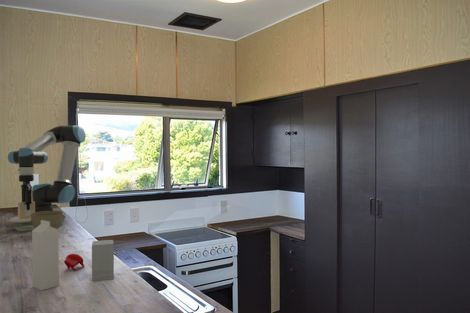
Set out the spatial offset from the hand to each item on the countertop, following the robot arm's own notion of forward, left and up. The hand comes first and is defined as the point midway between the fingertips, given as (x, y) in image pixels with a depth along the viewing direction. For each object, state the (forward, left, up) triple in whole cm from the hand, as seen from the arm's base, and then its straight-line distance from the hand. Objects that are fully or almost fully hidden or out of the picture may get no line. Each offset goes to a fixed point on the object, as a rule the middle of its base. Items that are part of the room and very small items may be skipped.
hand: (26, 214), depth 226 cm
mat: (0, 0, -8) cm, 8 cm away
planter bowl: (+19, +6, -8) cm, 21 cm away
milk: (+109, -20, -8) cm, 111 cm away
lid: (0, 0, -3) cm, 3 cm away
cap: (+96, -6, -8) cm, 97 cm away
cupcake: (+1, +17, -8) cm, 19 cm away
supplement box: (+113, -2, -8) cm, 113 cm away
